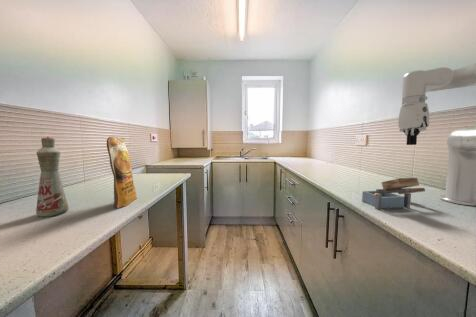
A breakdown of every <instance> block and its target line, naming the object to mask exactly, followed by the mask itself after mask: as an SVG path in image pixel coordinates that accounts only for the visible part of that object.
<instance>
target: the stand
mask: <svg viewBox="0 0 476 317" xmlns="http://www.w3.org/2000/svg"><path fill="white" fill-rule="evenodd" d="M403 195H404V196H403V197H404V205H403V208H405V209H410V208H411V202H412V201H411V199H412V198H411V197H412V193H404V194H403ZM381 202H382V195H381V194H376V197H375V206H374V209H375V210H378V211H381V210H382V209H381Z"/></svg>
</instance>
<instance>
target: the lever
mask: <svg viewBox="0 0 476 317" xmlns="http://www.w3.org/2000/svg"><path fill="white" fill-rule="evenodd" d="M417 186H420V183H419V180H418V177H407V178H406V177H404V178H402V177H401V178H396V179H395V178H394V179H391V180H385V181H381V187H382V188H376V190H375V191H376V193H393V194H397V195H404V193H410V194H413V193H422V192H426V189H425V187H417ZM412 187H413V188H412Z"/></svg>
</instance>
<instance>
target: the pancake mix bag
mask: <svg viewBox="0 0 476 317" xmlns="http://www.w3.org/2000/svg"><path fill="white" fill-rule="evenodd" d="M106 150H107V153H108V158H109V165H110V169H111V171H112V175H113V207H114V208H115V209H119V208H122V207H123V208H124V207H126V206H128V205H130V204H131V203H133V202H134V201H135V200H136V199H137V198H138V196H137V191H136V187H135V183H134V175H133V170H132V168H133V167H132V164H131V162H132V161H131V158H130V154H129V150H128V148H127V144H126V141H125V138H124V137H117V136H108V137H107V139H106Z"/></svg>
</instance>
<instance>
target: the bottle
mask: <svg viewBox="0 0 476 317" xmlns="http://www.w3.org/2000/svg"><path fill="white" fill-rule="evenodd" d="M55 140H56V139H55V138H54V137H49V136H46V137H41V139H40V141H41V147H40V148H39V149H38V150H37V151H36V156H37V160H38V165H39V168H40V176H39V184H38V192H37V201H36V210H35V214H36V215H37V216H38V217H41V218H42V217H43V218H44V217H53V216H57V215H58V216H59V215H62V214H64V213H66V212H68V210H69V208H70V206H69V203H68V200H67V198H66V194H65V189H64V186H63V183H62V178H61V175H60V171H59V168H60V167H59V166H60V156H61V151H60V150H59V149H57V148H56V147H55Z"/></svg>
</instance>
